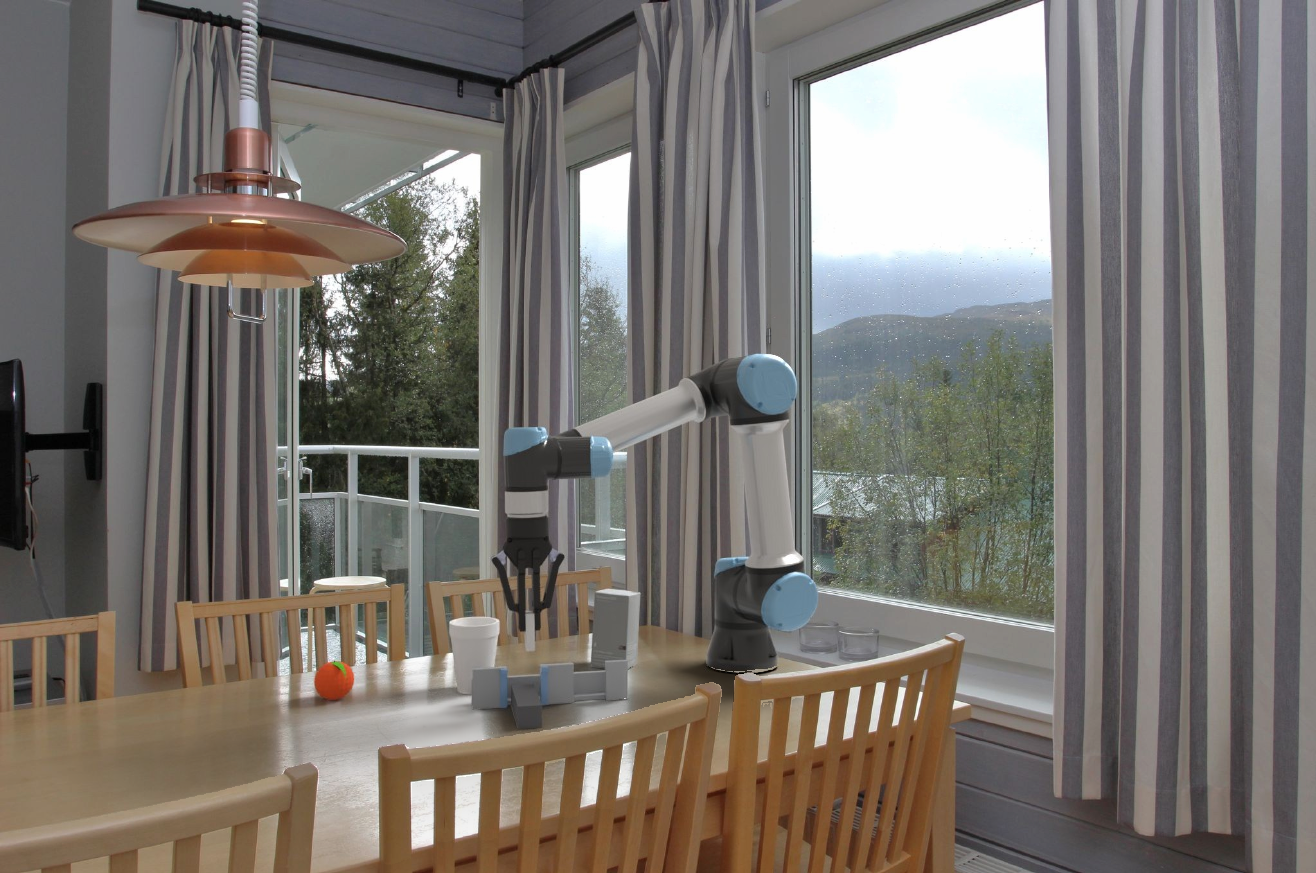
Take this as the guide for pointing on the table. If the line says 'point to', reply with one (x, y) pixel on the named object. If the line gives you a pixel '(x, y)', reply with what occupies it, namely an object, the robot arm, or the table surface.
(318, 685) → the clementine
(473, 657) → the foam cup
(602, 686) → the grey slotted rail
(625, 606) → the skincare box
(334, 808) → the table surface
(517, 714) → the dark grey bar
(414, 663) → the table surface
